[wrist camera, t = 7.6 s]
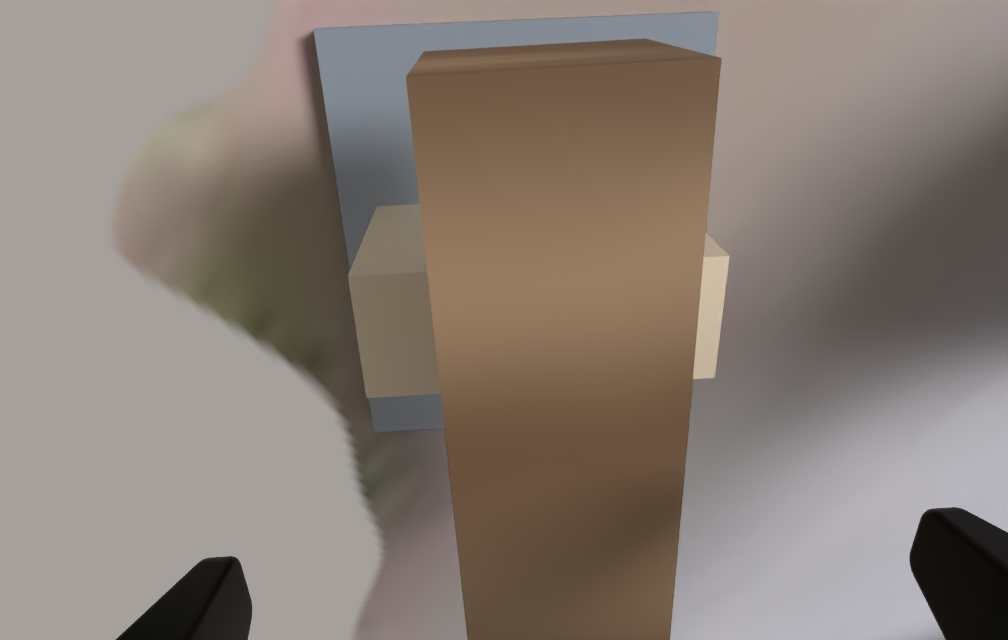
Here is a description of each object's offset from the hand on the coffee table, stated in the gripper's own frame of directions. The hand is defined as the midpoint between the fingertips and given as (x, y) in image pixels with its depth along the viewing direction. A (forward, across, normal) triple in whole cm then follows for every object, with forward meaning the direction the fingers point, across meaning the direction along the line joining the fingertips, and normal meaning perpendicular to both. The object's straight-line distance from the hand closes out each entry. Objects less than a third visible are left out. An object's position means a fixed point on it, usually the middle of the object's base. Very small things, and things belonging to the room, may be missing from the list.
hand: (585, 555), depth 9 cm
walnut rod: (+6, 0, 0) cm, 7 cm away
